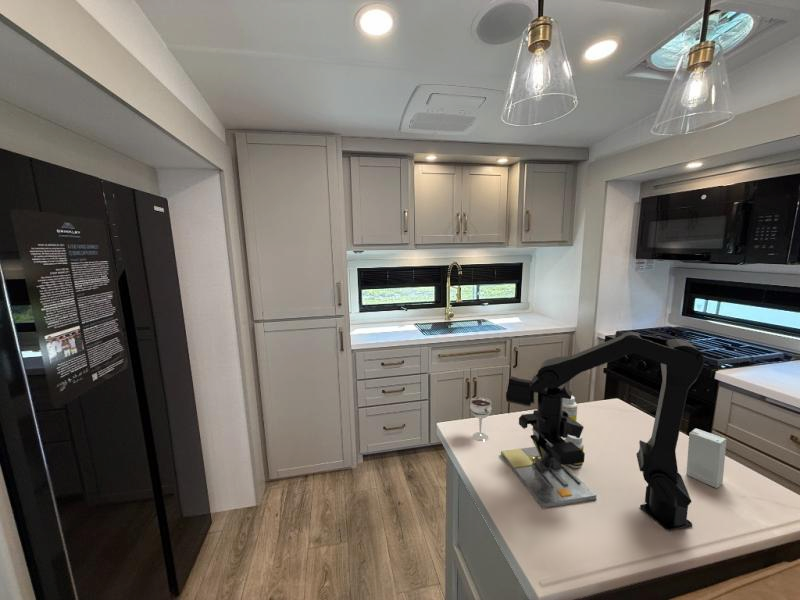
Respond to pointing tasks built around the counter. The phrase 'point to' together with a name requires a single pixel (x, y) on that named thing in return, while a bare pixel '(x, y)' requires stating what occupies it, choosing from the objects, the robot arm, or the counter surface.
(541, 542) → the counter surface
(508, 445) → the counter surface
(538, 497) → the breaker panel
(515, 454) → the pad
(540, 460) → the toggle
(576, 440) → the supplement bottle
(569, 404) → the supplement bottle
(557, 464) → the toggle
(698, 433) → the skincare box
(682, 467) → the counter surface
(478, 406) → the wineglass
